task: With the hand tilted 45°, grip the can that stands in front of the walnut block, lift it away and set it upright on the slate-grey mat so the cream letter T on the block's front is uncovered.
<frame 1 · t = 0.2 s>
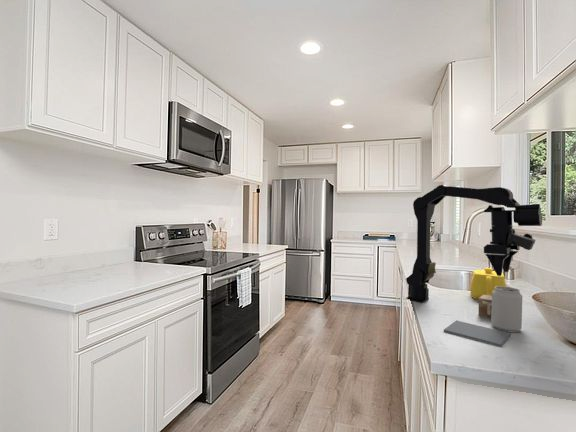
hand: (502, 273, 104), 14 cm above the worktop, tool pointing down, fingers open, 9 cm apart
mat: (476, 333, 91), on the worktop
can: (505, 329, 95), on the worktop
teapot: (487, 297, 130), on the worktop
marked block: (491, 316, 106), on the worktop
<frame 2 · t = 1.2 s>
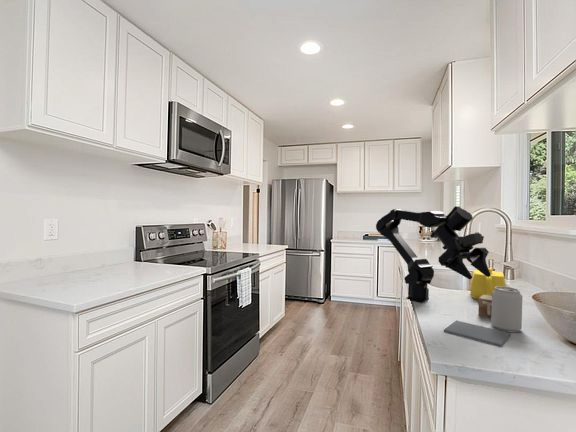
hand: (480, 277, 102), 14 cm above the worktop, tool tilted 45°, fingers open, 9 cm apart
nothing on the worktop moved.
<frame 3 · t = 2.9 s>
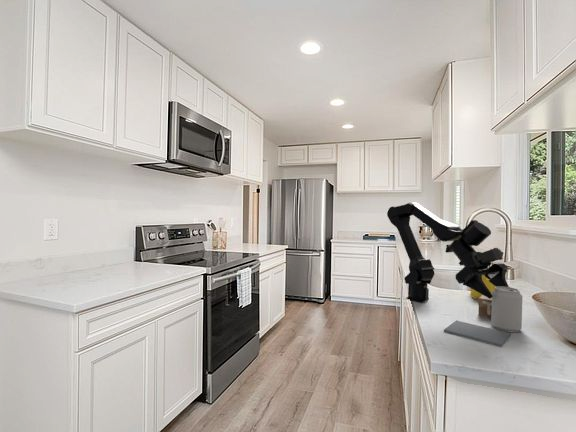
hand: (500, 296, 96), 9 cm above the worktop, tool tilted 45°, fingers open, 9 cm apart
nothing on the worktop moved.
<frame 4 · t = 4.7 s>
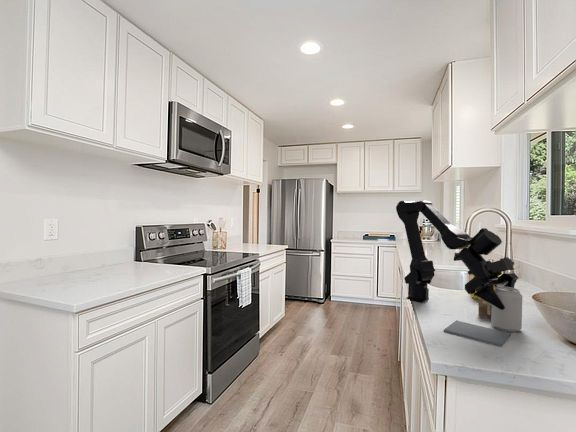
hand: (511, 307, 94), 7 cm above the worktop, tool tilted 45°, fingers closed on can, 7 cm apart
can: (505, 328, 95), on the worktop, touching gripper
everything else where it was.
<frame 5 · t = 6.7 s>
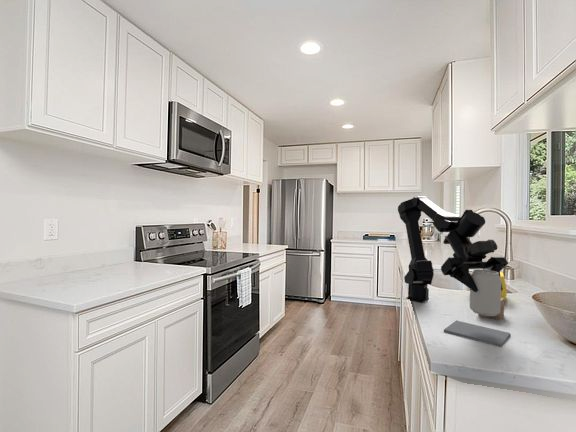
hand: (488, 290, 90), 12 cm above the worktop, tool tilted 45°, fingers closed on can, 7 cm apart
can: (484, 313, 91), point 6 cm above the worktop, touching gripper
everything else where it was.
when the fingers open (8 cm above the worktop, at t = 8.8 s): can drops 1 cm, resting on mat.
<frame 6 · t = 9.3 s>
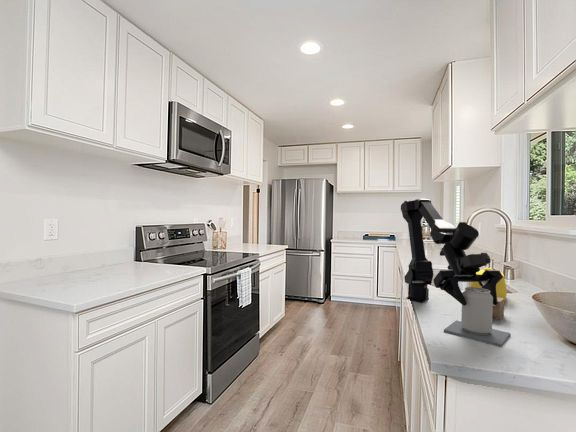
hand: (480, 304, 89), 9 cm above the worktop, tool tilted 45°, fingers open, 9 cm apart
can: (476, 331, 91), resting on mat
everything else where it was.
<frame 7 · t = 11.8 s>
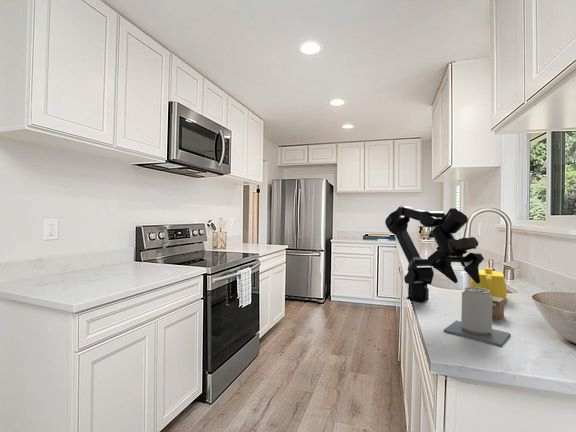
hand: (467, 282, 100), 12 cm above the worktop, tool tilted 40°, fingers open, 9 cm apart
nothing on the worktop moved.
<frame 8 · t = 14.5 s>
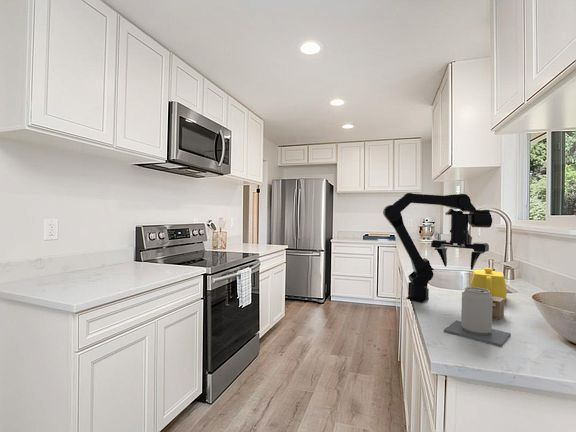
hand: (458, 268, 122), 13 cm above the worktop, tool pointing down, fingers open, 9 cm apart
nothing on the worktop moved.
at the end: can inside the target area on the mat (0.2 cm from its centre), point 0.4 cm above the mat's base; can tilted 0°; marked block moved 0.1 cm from its start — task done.
